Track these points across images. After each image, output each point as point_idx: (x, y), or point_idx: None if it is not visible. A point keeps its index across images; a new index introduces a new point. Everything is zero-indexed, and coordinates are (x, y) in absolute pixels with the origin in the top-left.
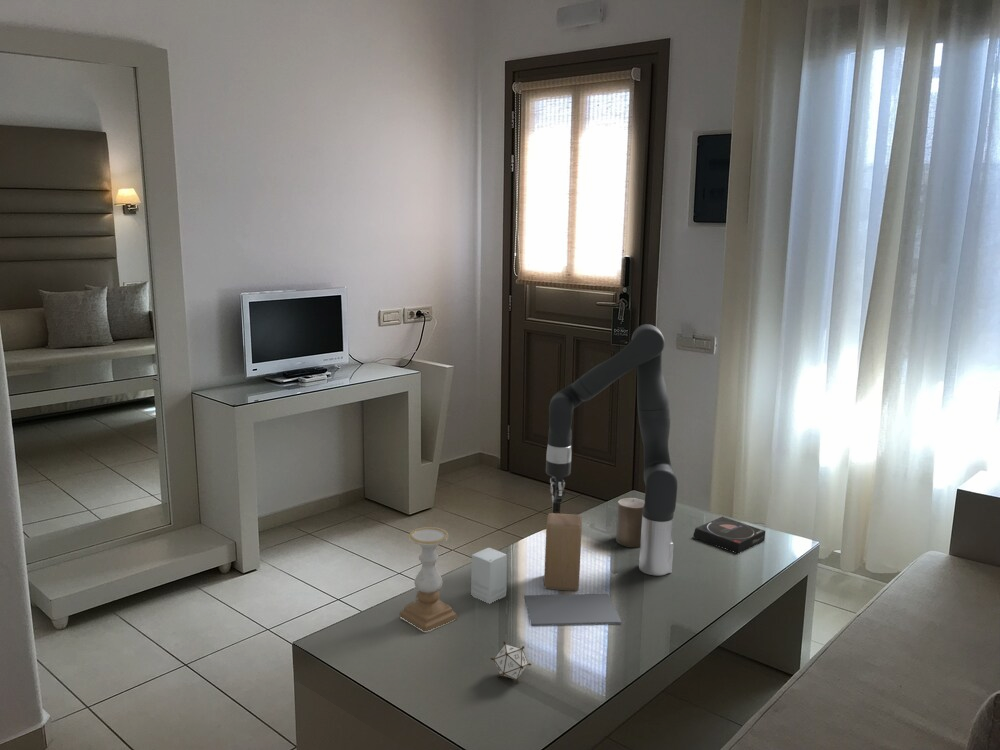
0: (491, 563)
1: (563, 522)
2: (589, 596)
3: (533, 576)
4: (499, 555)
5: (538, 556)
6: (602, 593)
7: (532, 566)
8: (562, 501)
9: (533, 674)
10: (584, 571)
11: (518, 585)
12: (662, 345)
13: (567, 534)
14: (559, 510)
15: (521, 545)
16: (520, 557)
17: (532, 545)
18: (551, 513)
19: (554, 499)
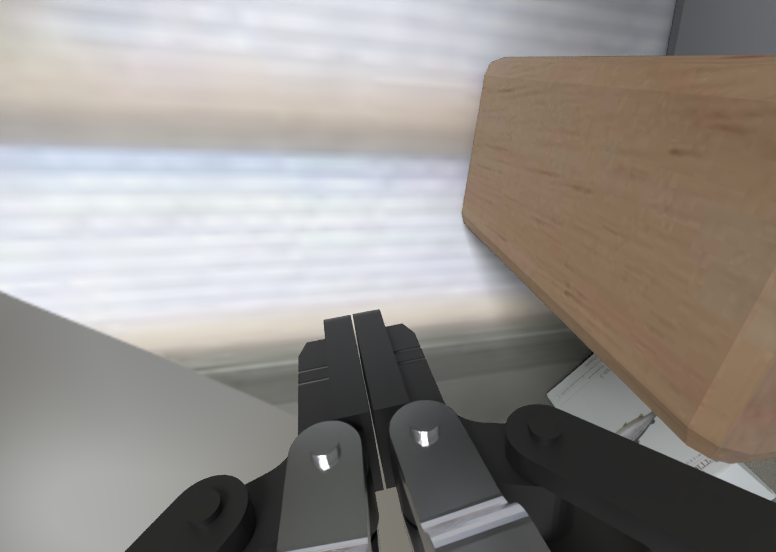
0: (769, 488)
1: None
2: (706, 19)
3: (470, 267)
4: (736, 484)
5: (263, 258)
6: None
7: (377, 277)
8: (587, 421)
9: None
10: (417, 12)
11: (538, 312)
12: None
13: None
14: (387, 332)
15: (150, 339)
16: (291, 330)
17: (131, 293)
18: (767, 448)
19: (571, 544)
